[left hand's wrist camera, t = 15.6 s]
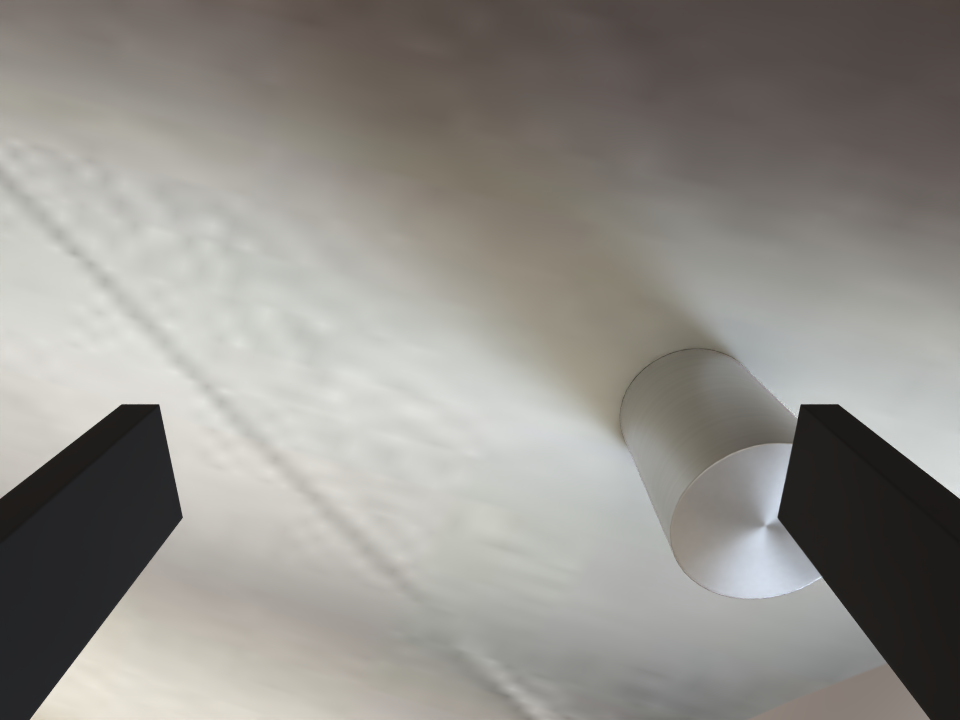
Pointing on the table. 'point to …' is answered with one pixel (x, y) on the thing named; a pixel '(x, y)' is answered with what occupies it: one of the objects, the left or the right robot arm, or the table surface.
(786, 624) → the table surface
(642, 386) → the tin
